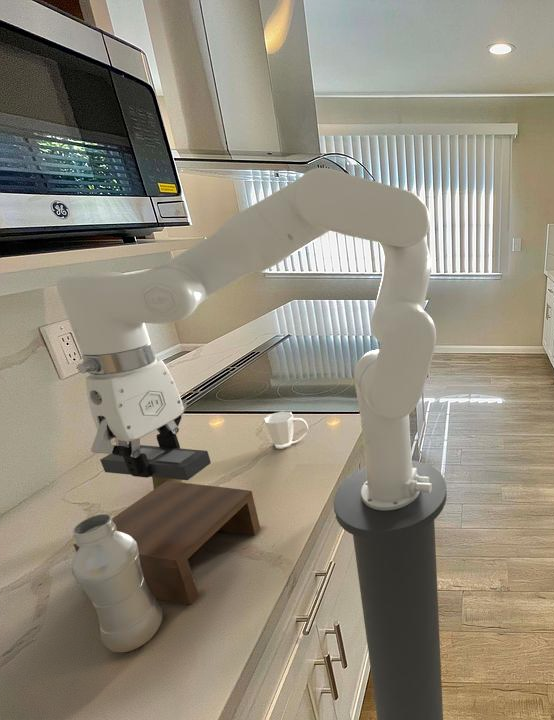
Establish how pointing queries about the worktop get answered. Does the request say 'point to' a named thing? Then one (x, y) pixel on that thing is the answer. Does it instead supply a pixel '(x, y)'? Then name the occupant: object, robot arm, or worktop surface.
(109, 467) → the remote
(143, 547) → the shelf
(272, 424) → the cup
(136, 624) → the plastic bottle
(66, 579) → the worktop surface
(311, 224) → the robot arm
